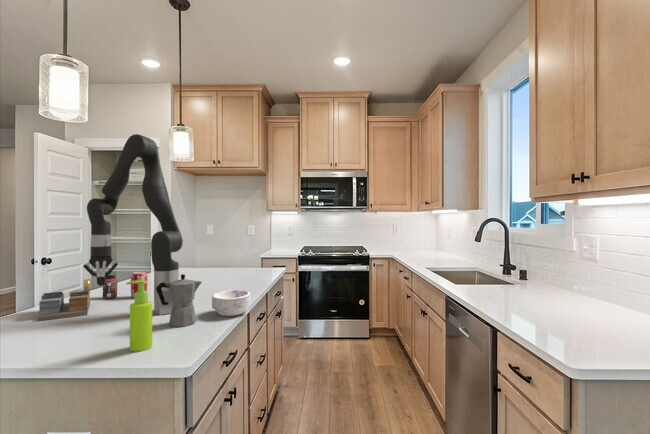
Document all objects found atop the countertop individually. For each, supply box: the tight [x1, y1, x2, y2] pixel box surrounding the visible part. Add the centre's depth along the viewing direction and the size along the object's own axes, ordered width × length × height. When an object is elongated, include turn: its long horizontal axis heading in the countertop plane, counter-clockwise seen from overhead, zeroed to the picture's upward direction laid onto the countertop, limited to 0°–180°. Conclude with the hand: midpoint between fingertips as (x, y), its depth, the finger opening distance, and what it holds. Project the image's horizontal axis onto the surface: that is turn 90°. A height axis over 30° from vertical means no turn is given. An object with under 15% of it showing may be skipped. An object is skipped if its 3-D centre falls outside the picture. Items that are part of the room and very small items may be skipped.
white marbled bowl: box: [211, 289, 252, 317], centre depth 137 cm, size 15×15×8 cm
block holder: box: [37, 289, 91, 322], centre depth 138 cm, size 20×15×8 cm
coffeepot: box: [156, 273, 203, 328], centre depth 123 cm, size 15×9×18 cm, turn 116°
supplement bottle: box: [102, 273, 118, 300], centre depth 162 cm, size 6×6×11 cm
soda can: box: [130, 271, 148, 299], centre depth 164 cm, size 7×7×12 cm
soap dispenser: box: [125, 280, 153, 352], centre depth 101 cm, size 6×7×20 cm
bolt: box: [68, 279, 92, 297], centre depth 141 cm, size 3×7×6 cm, turn 122°
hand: (101, 285), depth 145 cm, fingers closed
